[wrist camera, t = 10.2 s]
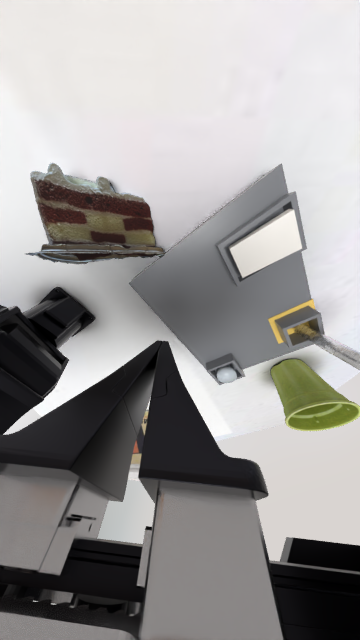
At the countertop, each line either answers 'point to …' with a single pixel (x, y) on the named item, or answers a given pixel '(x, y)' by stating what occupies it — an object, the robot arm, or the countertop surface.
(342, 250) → the countertop surface
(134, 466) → the coffee cup
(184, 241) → the switch panel
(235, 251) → the rocker switch
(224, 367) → the push button
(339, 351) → the toggle lever
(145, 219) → the chocolate cake
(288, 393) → the plant pot
